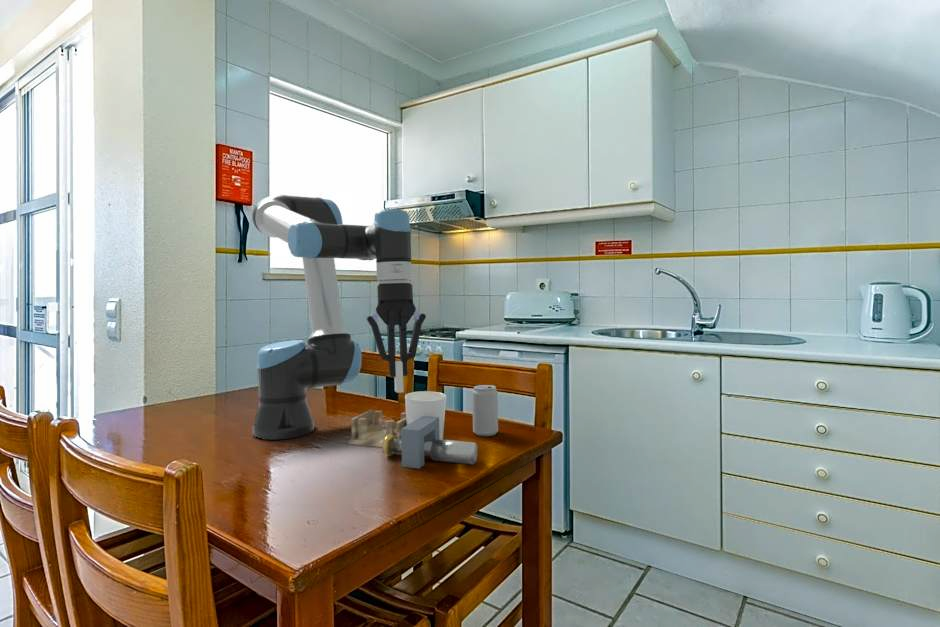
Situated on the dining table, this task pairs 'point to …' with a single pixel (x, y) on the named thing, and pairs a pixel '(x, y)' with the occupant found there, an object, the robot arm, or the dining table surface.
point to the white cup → (426, 407)
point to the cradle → (374, 428)
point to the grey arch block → (418, 440)
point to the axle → (454, 451)
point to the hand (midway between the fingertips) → (399, 391)
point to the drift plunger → (400, 445)
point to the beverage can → (485, 410)
